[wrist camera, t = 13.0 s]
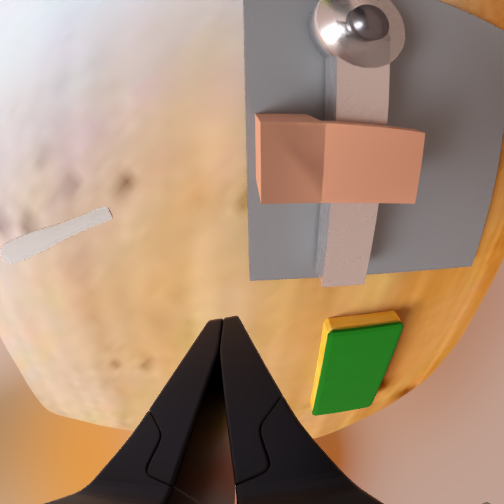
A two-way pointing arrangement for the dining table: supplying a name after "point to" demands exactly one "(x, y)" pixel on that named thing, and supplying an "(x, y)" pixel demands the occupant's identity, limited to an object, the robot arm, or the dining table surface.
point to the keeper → (335, 161)
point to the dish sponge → (353, 360)
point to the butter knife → (51, 236)
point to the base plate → (399, 115)
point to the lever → (353, 116)
